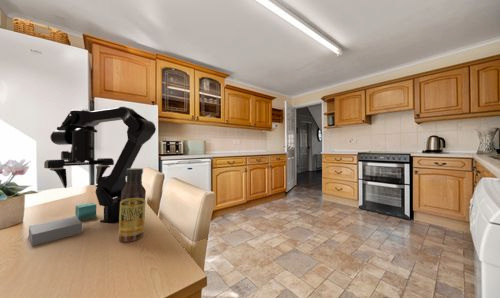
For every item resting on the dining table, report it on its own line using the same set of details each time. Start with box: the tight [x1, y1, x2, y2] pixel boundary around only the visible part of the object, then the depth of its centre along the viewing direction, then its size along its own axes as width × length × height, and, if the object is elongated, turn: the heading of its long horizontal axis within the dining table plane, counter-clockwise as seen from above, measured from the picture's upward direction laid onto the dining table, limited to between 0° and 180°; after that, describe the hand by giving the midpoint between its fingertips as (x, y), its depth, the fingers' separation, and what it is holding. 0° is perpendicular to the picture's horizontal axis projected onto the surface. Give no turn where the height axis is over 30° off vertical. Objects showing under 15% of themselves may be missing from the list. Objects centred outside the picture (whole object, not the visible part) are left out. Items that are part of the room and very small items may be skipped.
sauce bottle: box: [118, 167, 147, 243], centre depth 53 cm, size 7×6×20 cm
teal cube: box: [74, 201, 97, 222], centre depth 70 cm, size 5×5×5 cm
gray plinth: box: [28, 216, 83, 247], centre depth 56 cm, size 10×10×3 cm
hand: (82, 185), depth 70 cm, fingers open, 9 cm apart
